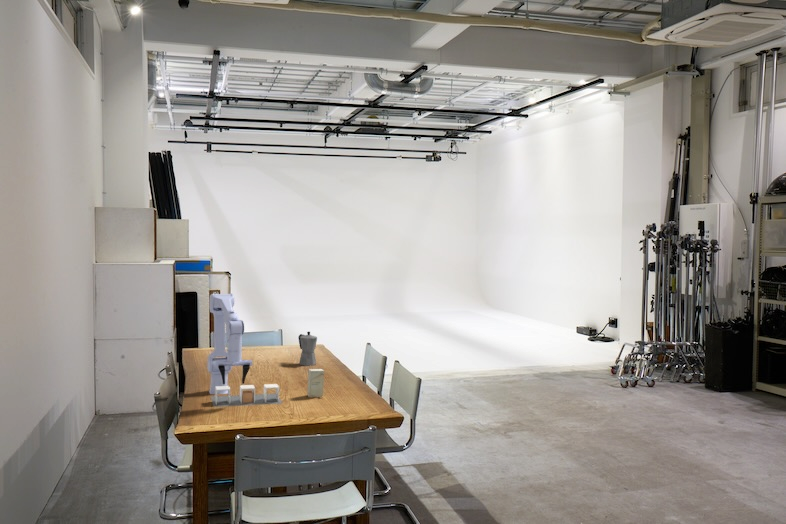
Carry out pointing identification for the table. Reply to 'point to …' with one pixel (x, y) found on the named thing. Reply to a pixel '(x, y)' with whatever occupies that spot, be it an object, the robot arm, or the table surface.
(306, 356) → the coffeepot
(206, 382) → the table surface
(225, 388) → the arch left
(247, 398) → the cube
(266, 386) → the arch right
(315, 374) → the skincare box
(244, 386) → the white u-channel shell
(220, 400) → the mat
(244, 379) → the robot arm
